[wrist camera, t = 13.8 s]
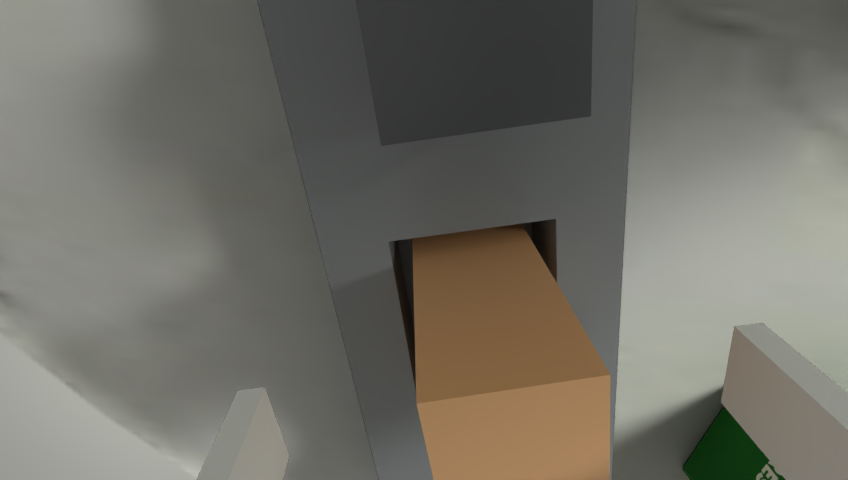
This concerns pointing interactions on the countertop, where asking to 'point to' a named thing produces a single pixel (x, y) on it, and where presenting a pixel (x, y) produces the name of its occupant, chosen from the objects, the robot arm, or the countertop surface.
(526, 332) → the plug
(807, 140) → the countertop surface
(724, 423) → the milk carton
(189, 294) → the countertop surface
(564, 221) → the power strip
